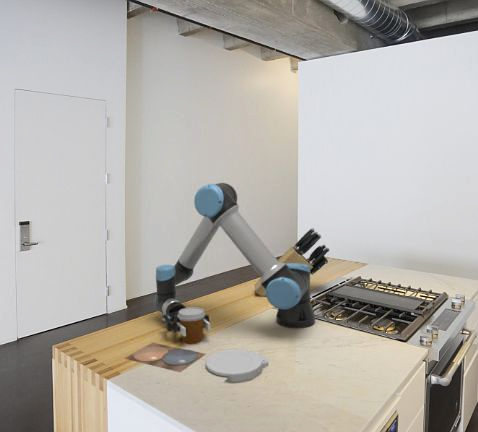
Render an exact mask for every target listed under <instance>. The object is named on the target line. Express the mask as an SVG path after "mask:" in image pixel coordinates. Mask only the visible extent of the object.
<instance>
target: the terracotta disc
mask: <svg viewBox="0 0 478 432" xmlns="http://www.w3.org/2000/svg"><path fill="white" fill-rule="evenodd" d="M133 353H134V359H135V360H137V361H141V362H153V361H158V360H161V359H162V357H164V355H165V354H166V355H167V353H168V350H167V349H166V348H163V347H157V346H153V347H146V348H144V347H142V348H140V349H138V350H136V351H135V352H133ZM166 355H165V356H166Z"/></svg>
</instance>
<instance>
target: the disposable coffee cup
mask: <svg viewBox="0 0 478 432" xmlns="http://www.w3.org/2000/svg"><path fill="white" fill-rule="evenodd" d="M205 314H206V312H205V310H204V308H202V307H197V306H189V307H186V308H184V309H181V310H180V311H179V314H178V318H179V321H180V324H181V325H183V326H184V327H185V328H186V336H183V335H182V334H181V337H182V341H183V343H184V344H186V345H195V344H199V343H201V342H202V341H203V334H204V333H203V331H204V327H203V323H204V317H205Z"/></svg>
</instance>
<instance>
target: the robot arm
mask: <svg viewBox="0 0 478 432" xmlns="http://www.w3.org/2000/svg"><path fill="white" fill-rule="evenodd" d="M193 202H194V207H195V210H196V211H197V212H198V214H199V215H201V216H202V217H203V218H202V220H201V221H200V222H199V225H198V226H197V227H196V229H195V231H194V233H193V234H192V236H191V238H190V239H189V241H188V242H187V245H186V246H185V247H184V250H183V251H182V252H181V254H180V256H179V258H178V260H177V261H176V263H175V265H172V264H162V265H158V266H157V267H156V269H155V283H156V285H155V286H156V296H155V298H154V306H155V308H156V309H157V310H158V312H160V313H161V314H162V323H163V324H164V325H165V327H166V330H167V331H169V332H171V331H172V330H173V331H172V332H173V333H180V334H181V336H182V335H183V336H186V328H185V327H184V326H183V325H181V324H180V321H179V318H178V314H179V311H180V310H181V309H184V308H187V307H186V306H185V305H184V304H183V303H181V302H180V301H179V300H177V292H176V291H177V290H176V289H177V288H176V286H177V285H179V284H182V283H184V282H185V281H187V280H189V279H190V278H191V277H192V276H193V275H194V269H195V267H196V265H197V264H198V262H199V260H200V259H201V257H202V256H203V254H204V252H205V250H206V249H207V247H208V246H209V245H210V243H211V241H212V240H213V238H214V236H215V235H216V233H217V232H218V229H219V228H221V230H223V232H224V233H225V234H226V236H228V238H229V239H230V241H232V243H233V245H235V247H236V248H237V249H238V250H239V252H240V253H241V254H242V256H243V257H244V258H245V259H246V260H247V261H248V263H249V264H250V265H251V267H252V268H253V269H254V271H255V272H256V274H258V276H259V277H260V278H261V285H262V286H263V287H264V289H265V290H266V296H265V297H266V299H267V301H268V302H269V303H270V304H271V306H272V307H274V308H276V309H277V312H276V316H275V319H276V320H275V321H276V324H277V325H280V327H281V326H282V327H285V328H292V329H301V328H303V329H304V328H308V327H310V326H313V325H314V324H315V322H316V316H315V312H314V309H313V306H312V304H311V274H310V267H309V266H308V265H307V264H300V263H280V262H278V260H279V259H277V258H276V257H275V255H274V254H273V253H272V252H271V251H270V249H269V248H268V247H267V246H266V244H265V243H264V242H263V240H262V239H261V238H260V237H259V236H258V234H257V233H256V232H255V230H253V228H252V226H251V225H250V224H249V223H248V222H247V220H246V219H245V218H244V217H243V216H242V214H241V213H240V212H239V208H240V207H239V206H240V205H239V204H238V194H237V191H236V189H235V188H234V187H233V186H232V185H230V183H225V182H219V183H207V184H206V185H203V186H201V187H200V188H199V189H198V190H197V191H196V193H195V195H194V201H193ZM203 329H205V330H206V331H207V332H211V323H210V315H209V314H206V313H205V317H204V323H203Z"/></svg>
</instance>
